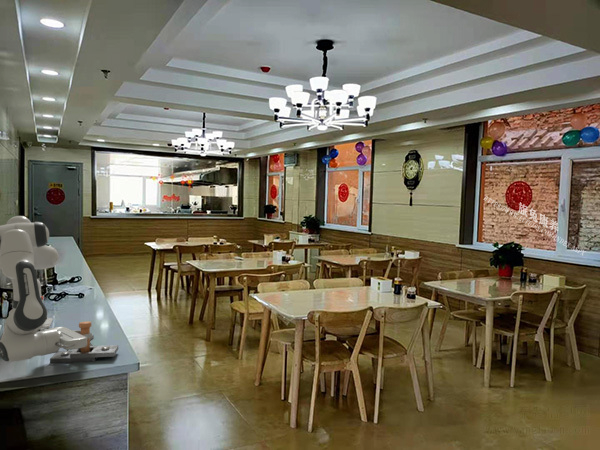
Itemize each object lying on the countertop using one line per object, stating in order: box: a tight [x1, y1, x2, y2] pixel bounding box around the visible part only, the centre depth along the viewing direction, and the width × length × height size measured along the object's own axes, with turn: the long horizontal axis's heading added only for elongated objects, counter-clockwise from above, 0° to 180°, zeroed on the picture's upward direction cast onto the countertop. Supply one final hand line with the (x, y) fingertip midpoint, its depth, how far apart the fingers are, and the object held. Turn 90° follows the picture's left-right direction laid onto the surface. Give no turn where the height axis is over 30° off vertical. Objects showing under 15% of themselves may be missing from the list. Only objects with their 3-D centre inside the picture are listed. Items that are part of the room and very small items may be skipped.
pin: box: [78, 321, 92, 352], centre depth 176 cm, size 4×4×14 cm
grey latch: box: [49, 344, 119, 364], centre depth 177 cm, size 9×23×4 cm, turn 102°
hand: (87, 333), depth 177 cm, fingers open, 4 cm apart
